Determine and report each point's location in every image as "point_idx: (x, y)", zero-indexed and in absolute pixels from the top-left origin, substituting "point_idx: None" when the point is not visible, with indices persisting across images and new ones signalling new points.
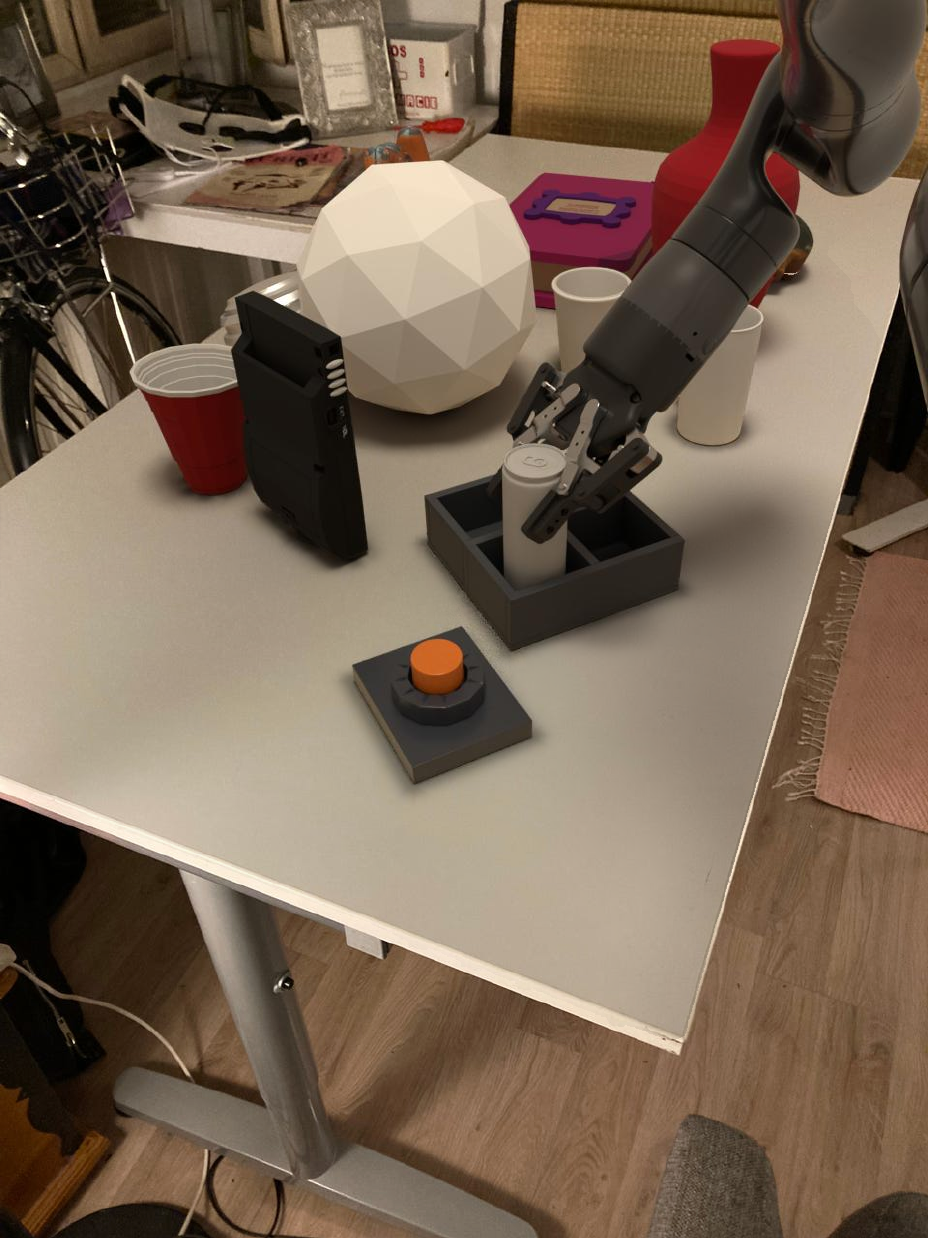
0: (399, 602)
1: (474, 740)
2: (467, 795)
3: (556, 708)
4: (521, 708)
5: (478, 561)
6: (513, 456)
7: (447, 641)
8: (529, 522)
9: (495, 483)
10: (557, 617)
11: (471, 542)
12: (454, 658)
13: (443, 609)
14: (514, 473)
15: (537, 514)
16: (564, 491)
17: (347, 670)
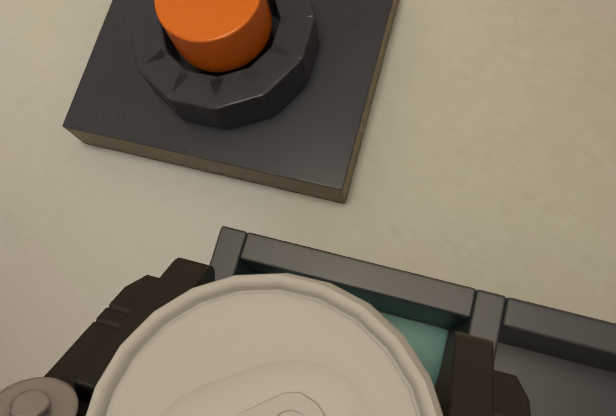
0: (539, 183)
1: (106, 28)
2: (83, 2)
3: (93, 218)
4: (93, 129)
5: (403, 271)
6: (383, 400)
7: (223, 32)
8: (174, 278)
9: (468, 365)
10: None
11: (485, 313)
12: (175, 14)
13: (455, 239)
14: (246, 275)
15: (146, 302)
16: (9, 391)
17: (431, 4)
